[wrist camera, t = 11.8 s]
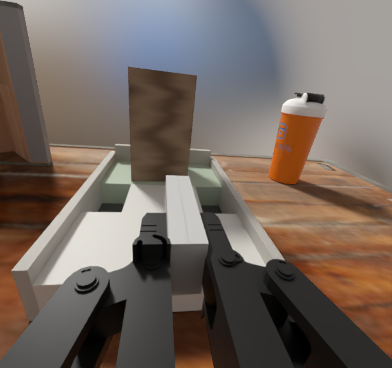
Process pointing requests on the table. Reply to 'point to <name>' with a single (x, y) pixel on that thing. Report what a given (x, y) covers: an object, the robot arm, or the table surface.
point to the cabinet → (19, 95)
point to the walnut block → (160, 123)
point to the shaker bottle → (296, 136)
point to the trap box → (130, 227)
